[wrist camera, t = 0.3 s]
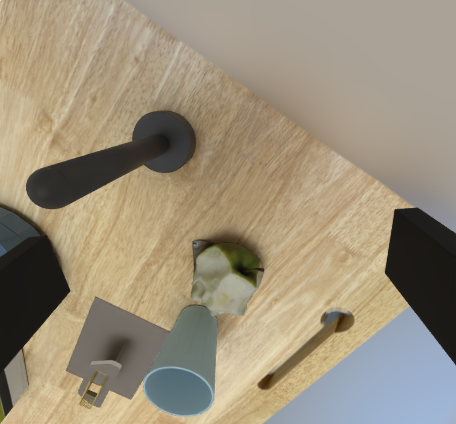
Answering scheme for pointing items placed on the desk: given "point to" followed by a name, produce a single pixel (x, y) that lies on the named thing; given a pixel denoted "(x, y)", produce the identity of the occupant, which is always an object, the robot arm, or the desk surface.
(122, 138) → the desk surface
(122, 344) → the platform
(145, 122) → the paper towel holder
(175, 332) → the cup
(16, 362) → the tea box
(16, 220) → the bowl
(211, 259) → the fruit
